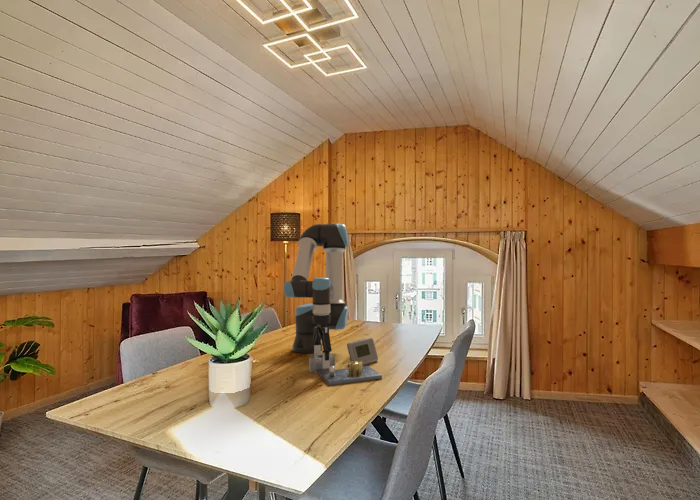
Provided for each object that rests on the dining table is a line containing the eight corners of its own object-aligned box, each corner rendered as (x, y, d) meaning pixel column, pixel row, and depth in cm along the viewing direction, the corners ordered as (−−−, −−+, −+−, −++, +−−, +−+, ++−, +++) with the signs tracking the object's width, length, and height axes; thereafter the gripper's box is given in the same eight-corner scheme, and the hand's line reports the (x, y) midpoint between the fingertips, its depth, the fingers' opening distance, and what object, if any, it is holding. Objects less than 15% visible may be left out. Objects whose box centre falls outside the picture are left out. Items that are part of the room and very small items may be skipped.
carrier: (319, 375, 176) (318, 361, 176) (368, 369, 183) (368, 356, 183) (329, 385, 163) (328, 371, 162) (381, 378, 170) (381, 365, 170)
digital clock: (352, 369, 184) (352, 344, 184) (341, 364, 192) (341, 340, 191) (382, 363, 193) (382, 339, 193) (371, 358, 200) (371, 336, 200)
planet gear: (306, 368, 186) (306, 354, 186) (330, 365, 189) (330, 352, 189) (313, 375, 175) (312, 360, 175) (338, 372, 179) (337, 358, 179)
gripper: (305, 310, 192) (306, 357, 192) (321, 318, 169) (321, 372, 169) (321, 309, 195) (322, 356, 195) (339, 317, 172) (339, 370, 171)
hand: (321, 363), depth 182 cm, fingers open, 13 cm apart
